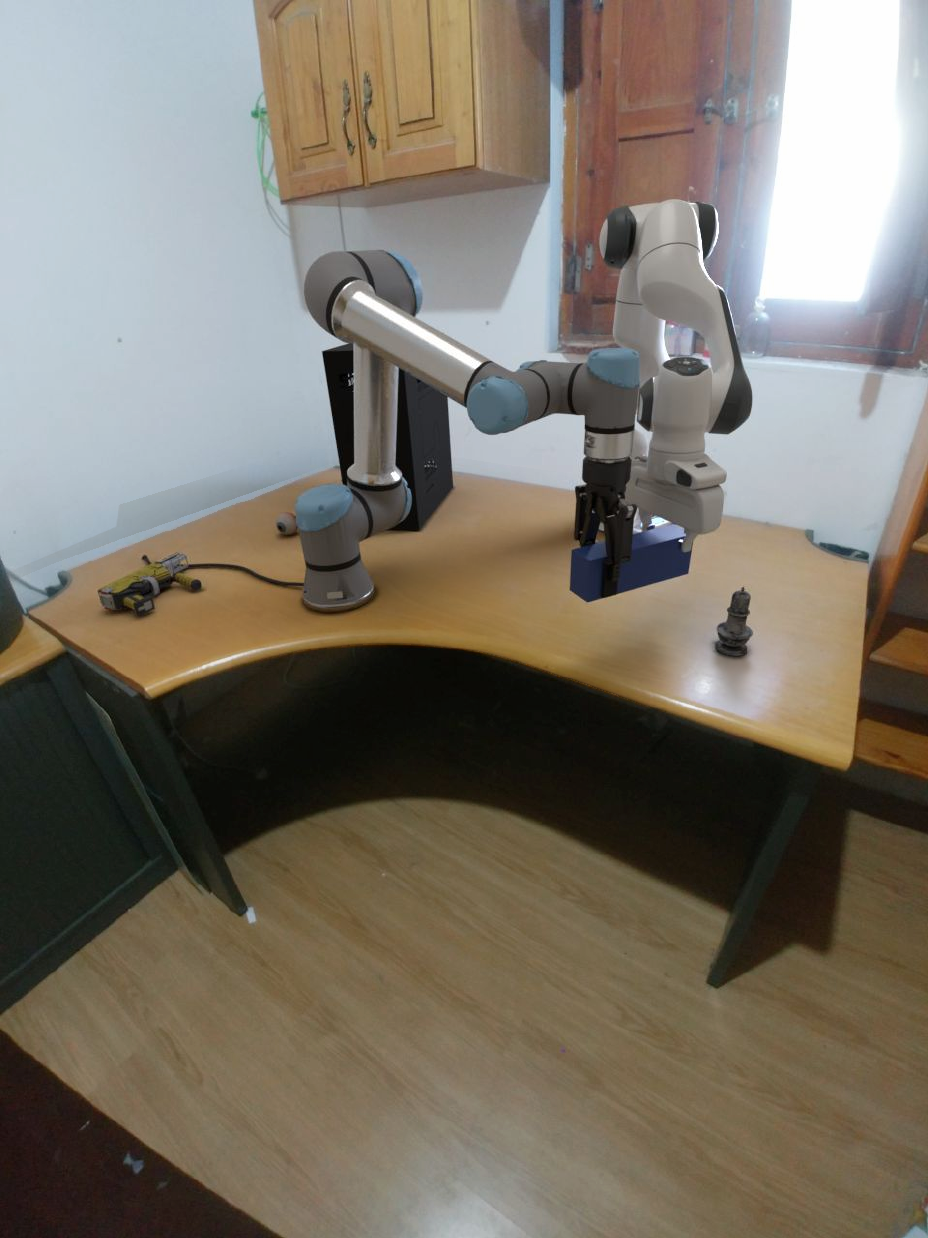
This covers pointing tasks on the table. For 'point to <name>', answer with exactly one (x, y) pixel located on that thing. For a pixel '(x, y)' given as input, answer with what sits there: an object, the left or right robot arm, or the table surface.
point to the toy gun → (146, 585)
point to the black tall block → (398, 434)
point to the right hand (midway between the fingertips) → (665, 541)
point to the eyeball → (286, 523)
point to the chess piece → (735, 626)
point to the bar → (631, 563)
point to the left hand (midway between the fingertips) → (598, 588)
